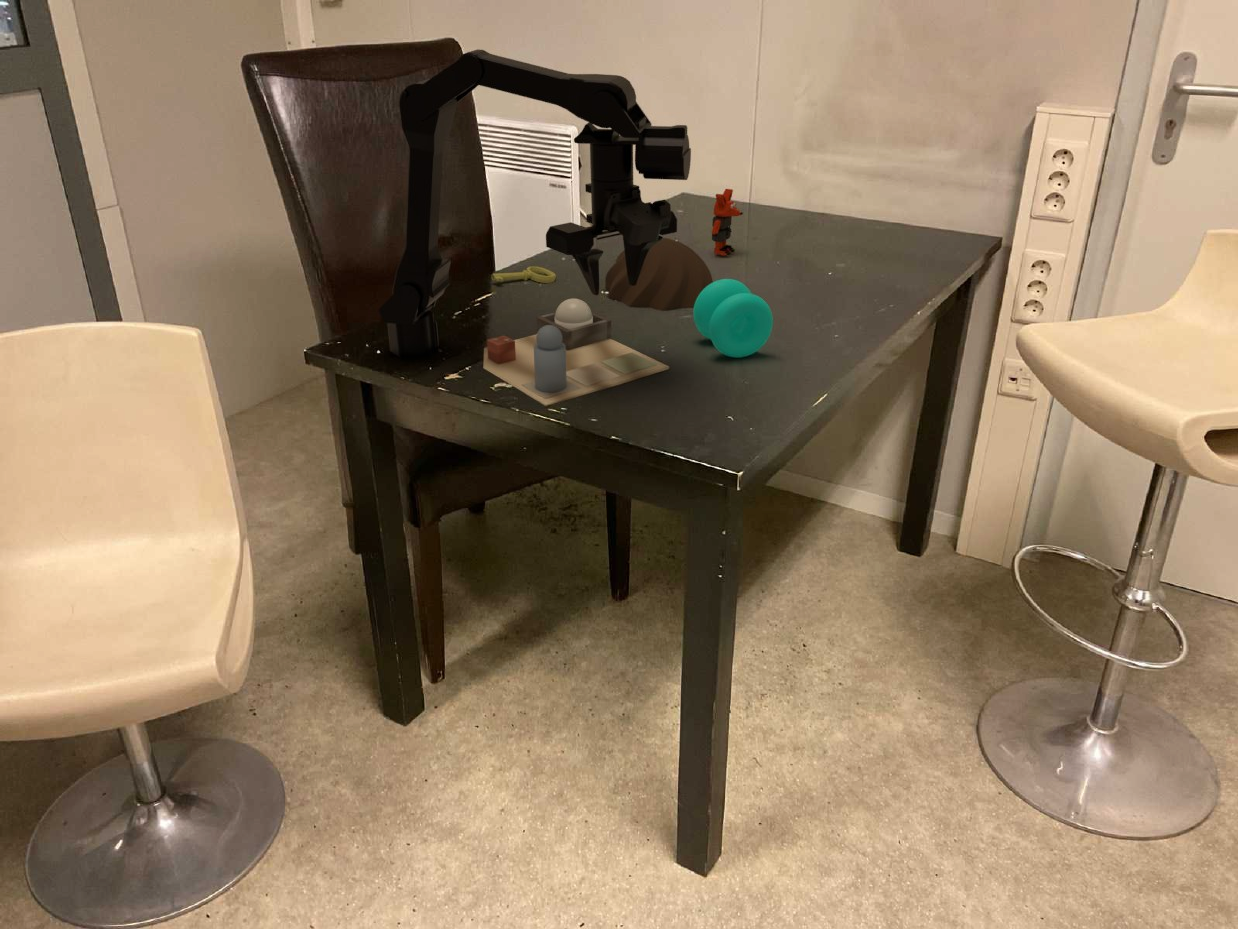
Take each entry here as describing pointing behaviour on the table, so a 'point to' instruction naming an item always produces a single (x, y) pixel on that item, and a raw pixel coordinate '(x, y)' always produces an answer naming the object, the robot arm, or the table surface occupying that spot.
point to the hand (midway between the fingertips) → (614, 289)
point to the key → (527, 275)
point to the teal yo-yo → (732, 318)
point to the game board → (570, 360)
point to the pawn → (550, 360)
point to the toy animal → (723, 222)
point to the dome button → (573, 314)
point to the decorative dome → (661, 278)
